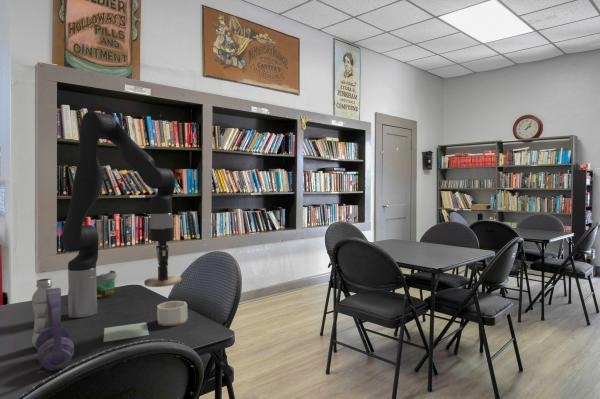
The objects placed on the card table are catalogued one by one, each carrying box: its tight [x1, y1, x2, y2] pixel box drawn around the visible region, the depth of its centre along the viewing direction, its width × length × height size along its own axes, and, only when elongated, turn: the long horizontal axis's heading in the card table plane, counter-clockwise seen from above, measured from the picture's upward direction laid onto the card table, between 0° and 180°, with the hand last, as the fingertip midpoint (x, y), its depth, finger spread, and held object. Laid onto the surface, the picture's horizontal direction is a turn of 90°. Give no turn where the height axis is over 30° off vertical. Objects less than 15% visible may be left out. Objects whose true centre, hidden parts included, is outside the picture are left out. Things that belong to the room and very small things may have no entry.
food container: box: [96, 270, 118, 299], centre depth 174 cm, size 12×6×10 cm, turn 168°
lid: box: [144, 265, 182, 288], centre depth 137 cm, size 12×12×6 cm
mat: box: [103, 322, 150, 343], centre depth 130 cm, size 13×13×1 cm
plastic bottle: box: [31, 278, 53, 349], centre depth 119 cm, size 6×7×20 cm
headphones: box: [35, 287, 75, 371], centre depth 108 cm, size 18×8×20 cm, turn 36°
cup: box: [156, 300, 189, 327], centre depth 140 cm, size 10×10×6 cm
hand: (163, 276), depth 137 cm, fingers closed on lid, 3 cm apart
